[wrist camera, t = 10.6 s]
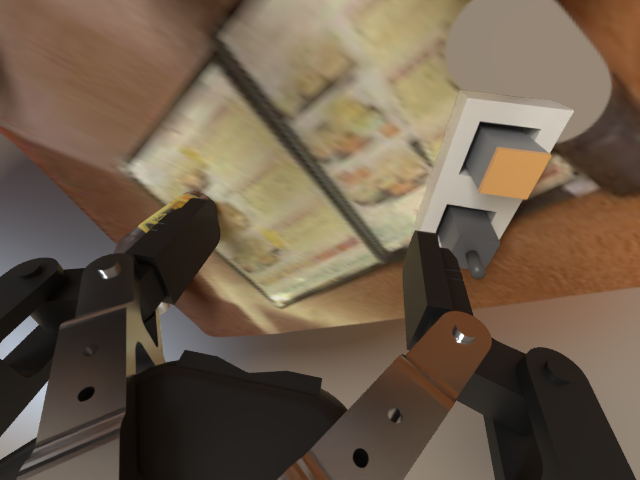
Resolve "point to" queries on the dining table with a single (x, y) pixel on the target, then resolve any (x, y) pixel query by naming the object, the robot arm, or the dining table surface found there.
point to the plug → (505, 161)
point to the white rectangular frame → (458, 186)
